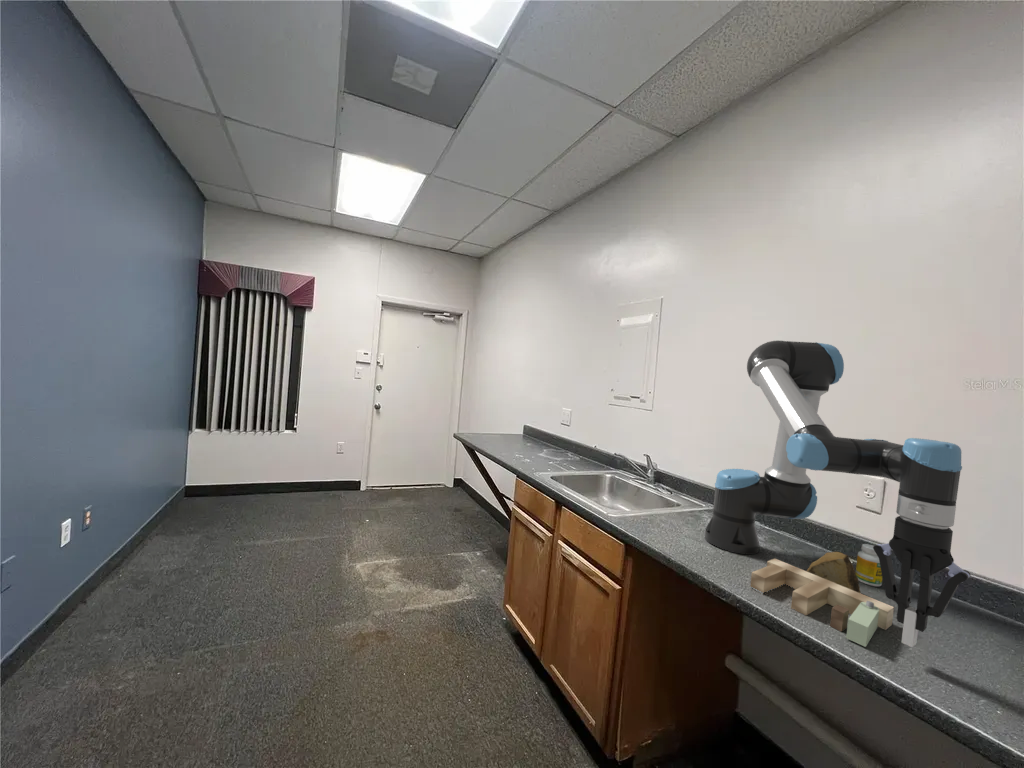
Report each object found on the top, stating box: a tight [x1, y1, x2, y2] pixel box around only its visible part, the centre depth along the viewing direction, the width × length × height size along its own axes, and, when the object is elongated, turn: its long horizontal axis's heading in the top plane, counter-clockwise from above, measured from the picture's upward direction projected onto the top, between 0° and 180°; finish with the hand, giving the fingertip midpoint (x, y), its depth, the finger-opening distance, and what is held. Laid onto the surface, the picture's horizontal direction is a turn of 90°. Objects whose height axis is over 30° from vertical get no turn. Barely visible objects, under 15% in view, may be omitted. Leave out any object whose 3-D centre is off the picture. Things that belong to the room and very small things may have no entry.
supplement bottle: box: [855, 543, 883, 587], centre depth 106 cm, size 5×5×10 cm
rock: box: [806, 551, 862, 594], centre depth 103 cm, size 11×9×10 cm
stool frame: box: [749, 557, 895, 632], centre depth 93 cm, size 24×15×4 cm, turn 32°
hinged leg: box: [845, 601, 879, 648], centre depth 82 cm, size 12×3×5 cm, turn 128°
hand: (908, 642), depth 75 cm, fingers closed
